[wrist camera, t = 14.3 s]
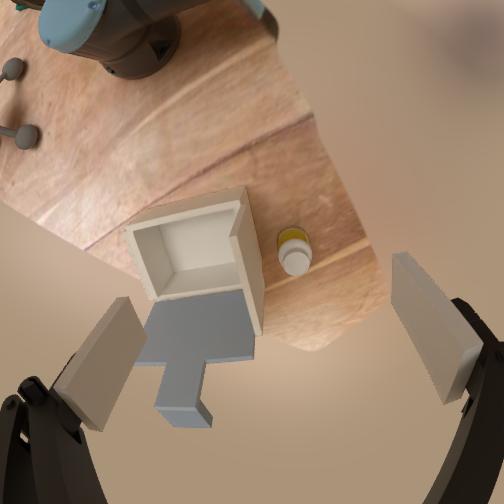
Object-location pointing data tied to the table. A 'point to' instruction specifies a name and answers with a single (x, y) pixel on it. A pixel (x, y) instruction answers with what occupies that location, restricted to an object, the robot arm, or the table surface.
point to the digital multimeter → (20, 7)
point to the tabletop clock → (30, 3)
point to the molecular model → (26, 133)
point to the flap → (194, 349)
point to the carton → (200, 250)
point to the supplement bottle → (294, 250)
